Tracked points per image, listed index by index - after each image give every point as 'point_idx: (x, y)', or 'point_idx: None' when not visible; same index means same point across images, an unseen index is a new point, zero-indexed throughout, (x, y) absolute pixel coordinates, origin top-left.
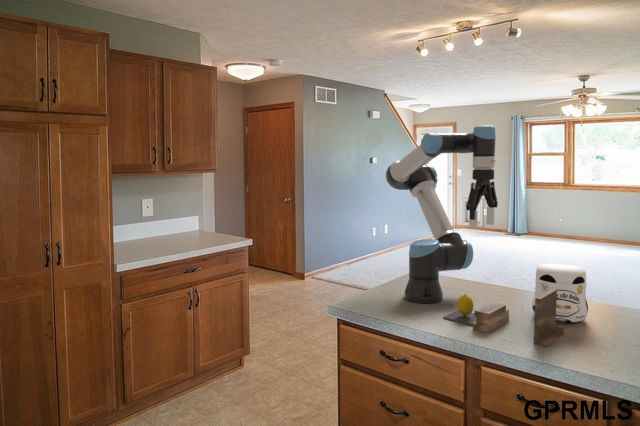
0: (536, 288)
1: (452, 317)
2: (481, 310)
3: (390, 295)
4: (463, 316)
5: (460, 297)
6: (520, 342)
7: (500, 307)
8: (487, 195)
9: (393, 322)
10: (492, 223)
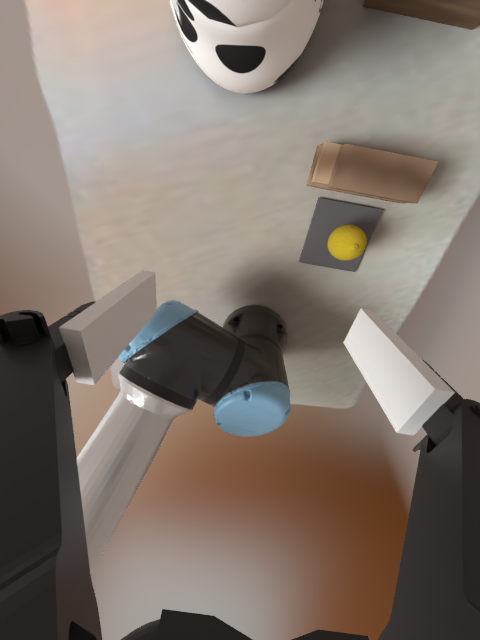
0: (279, 37)
1: None
2: (412, 188)
3: None
4: None
5: (358, 255)
6: (469, 68)
7: (373, 150)
8: (75, 546)
9: (399, 327)
10: (151, 280)
